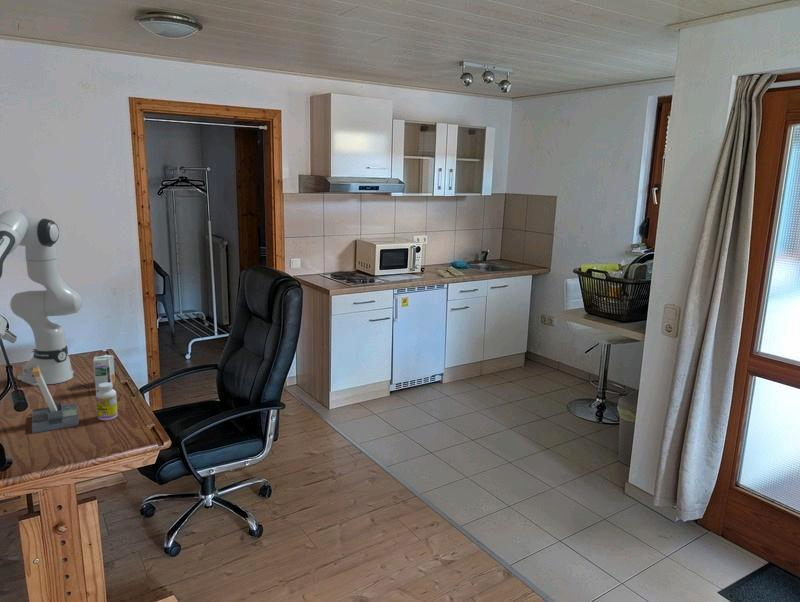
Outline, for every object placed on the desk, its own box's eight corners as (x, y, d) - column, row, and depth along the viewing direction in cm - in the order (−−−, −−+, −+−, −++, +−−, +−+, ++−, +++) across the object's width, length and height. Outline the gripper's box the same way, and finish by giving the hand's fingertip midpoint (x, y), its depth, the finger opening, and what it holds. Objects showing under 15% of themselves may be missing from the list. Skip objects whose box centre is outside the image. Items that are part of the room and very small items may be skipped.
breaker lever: (53, 419, 203) (32, 373, 197) (52, 412, 209) (32, 367, 203) (58, 416, 204) (38, 371, 198) (58, 410, 210) (38, 365, 204)
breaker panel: (32, 433, 197) (30, 419, 196) (33, 416, 210) (31, 403, 209) (79, 425, 204) (77, 411, 203) (76, 409, 217) (75, 396, 216)
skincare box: (106, 386, 241) (103, 359, 239) (97, 385, 242) (94, 358, 240) (115, 381, 247) (113, 355, 245) (107, 380, 248) (105, 354, 245)
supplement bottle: (93, 419, 209) (90, 385, 207) (108, 412, 215) (106, 380, 213) (107, 422, 207) (104, 388, 204) (122, 415, 213) (119, 383, 210)
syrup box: (95, 394, 232) (92, 360, 229) (96, 389, 238) (94, 356, 235) (111, 392, 235) (108, 358, 232) (112, 387, 240) (109, 354, 237)
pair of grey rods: (33, 415, 211) (32, 410, 211) (33, 411, 214) (32, 407, 213) (76, 408, 218) (76, 404, 218) (76, 405, 221) (75, 401, 221)
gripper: (-19, 314, 181) (21, 340, 188) (-14, 301, 198) (23, 326, 205) (-35, 329, 179) (6, 355, 186) (-28, 315, 196) (9, 339, 203)
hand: (15, 340), depth 196 cm, fingers closed
